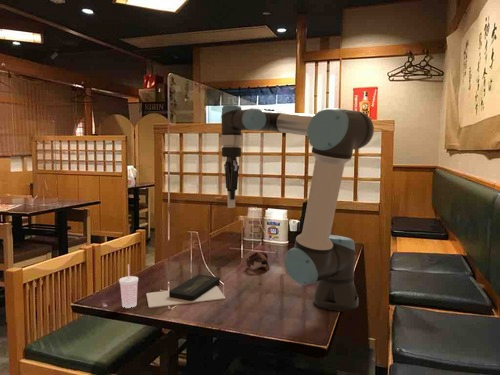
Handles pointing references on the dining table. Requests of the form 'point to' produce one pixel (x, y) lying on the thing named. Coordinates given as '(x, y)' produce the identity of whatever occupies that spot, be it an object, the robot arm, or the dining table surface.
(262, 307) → the dining table surface
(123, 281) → the beverage cup
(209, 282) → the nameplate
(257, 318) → the dining table surface
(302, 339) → the dining table surface
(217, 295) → the beige mat
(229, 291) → the dining table surface
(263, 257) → the pottery mug
